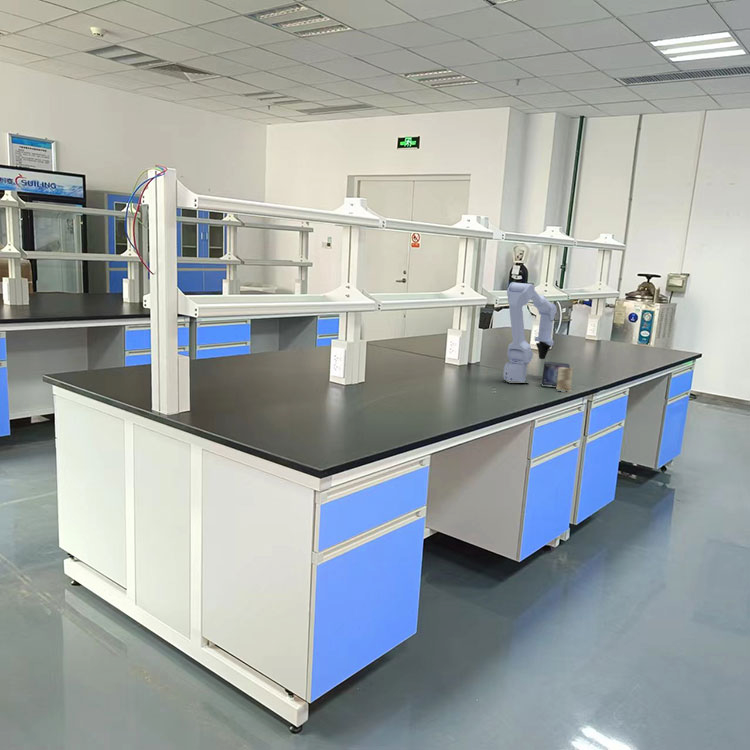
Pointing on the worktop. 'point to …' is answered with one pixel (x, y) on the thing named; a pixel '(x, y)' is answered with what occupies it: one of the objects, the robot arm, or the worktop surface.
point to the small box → (552, 372)
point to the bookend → (564, 379)
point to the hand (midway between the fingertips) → (541, 358)
